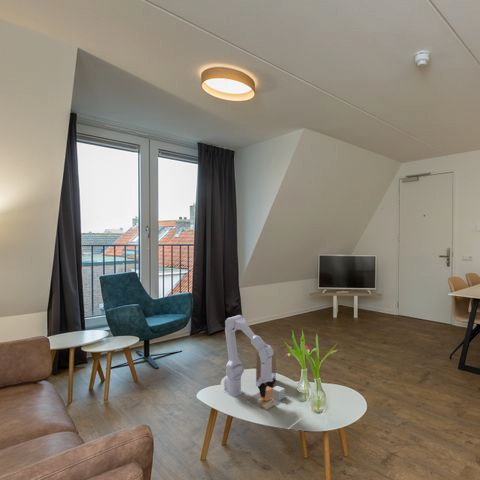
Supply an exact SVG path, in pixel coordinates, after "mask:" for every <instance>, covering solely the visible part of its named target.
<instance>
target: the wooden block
mask: <svg viewBox="0 0 480 480" xmlns="http://www.w3.org/2000/svg"><path fill="white" fill-rule="evenodd" d="M273 350H274V354H273V355H272V356H271V357H272V373H274V374H276V372H277V371H276V369H277V367H276V365H277V364H276V363H277V361H276V360H277V350H276V348H273ZM255 355H256V359H255V361H256V362H255V366H256V367H255V374H256V375H255V378H256V379H255V382H256V381H258V380H259V378H260V377H261V361H260V356H259V352H258V351H257V350H256V354H255ZM273 379H274V380H275V381H276V378H273ZM264 384H265V385H266V382H265V383H264Z"/></svg>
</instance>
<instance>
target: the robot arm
mask: <svg viewBox="0 0 480 480" xmlns="http://www.w3.org/2000/svg"><path fill="white" fill-rule="evenodd" d="M224 325H225V327H224V333H225V341H226V349H227V355H228V358H227V359H228V361H227V363H226V365H225V375H226V376H225V377H224V379H223V381H224V383H223V385H224V386H223V391H222V392H224V393H226V394H228V395H230V396H231V397H234V398H236V397H237V396H240V395H241V394H243V393H244V392H245V391H244V390H242V374H244V371H245V369H244V366H243V363H242V361H241V360H240V359H239V356H238V355H239V354H238V346H237V337H236V331H237V330H238V331H241V332H242V333H244V334H245V335H246V336H247V337H248V338H249V339H250V344H251V345H252V346H253V347H254V348H255V349H256V352H257V351H258V352H259V356H260V361H261V377H260V378H259V380H258V381H256V380H255V386H256V387H257V388H258V389H259V390H258V392H260V394H261V397H263V398H264V397H265V391H266V387H267V386H269V387H271V388H274V384H275V383H276V380H274V379H273V378H276V374H274V373H272V357H271V356H272V355H273V354H274V350H273V349H274V348H273V347H272V345H270V344H267V343H266V342H265V341H264V340H263V339H262V337H261V336H260V335H257V334H255V333H254V332H253V330H252V329H251V327H249V325H248V324H247V321H246V319H245V318H244V316H243V315H241V314H237V315H235V316H231V317H227V318H226V319H225V321H224ZM265 382H266V385H265V384H264V383H265Z"/></svg>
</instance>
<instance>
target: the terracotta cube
mask: <svg viewBox="0 0 480 480" xmlns="http://www.w3.org/2000/svg"><path fill="white" fill-rule="evenodd" d="M273 388H274V387H273ZM273 388H271V387H269V386H267V387H266V391H265V397H264V398H263V397H261V394H260V396H259V398H261V399H264V400H266V401H268V400H269V399H271V398H273Z"/></svg>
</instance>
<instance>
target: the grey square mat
mask: <svg viewBox="0 0 480 480" xmlns="http://www.w3.org/2000/svg"><path fill="white" fill-rule="evenodd" d="M259 396H260V391H258V392H257V393H255V394H253V395H252V396H250V397H248V398H246V399H245V401H247V402H249V403H251V404H253V405H255V406H257V407H259V408H262V409H264V410H266V411H268V412H269V411H271V410H272V409H274V408H275V407H277V406H279V405H280V404H282V403H283V402H285V401H286V400H288V399H289V397H287V396H285V395H284V398H283V399H281V400H276V399H274V398H272V399H274V405H273V406H271V407H270V408H268V409H265V408H263V407H261V406H259V405H258V399H260V398H259Z"/></svg>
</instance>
